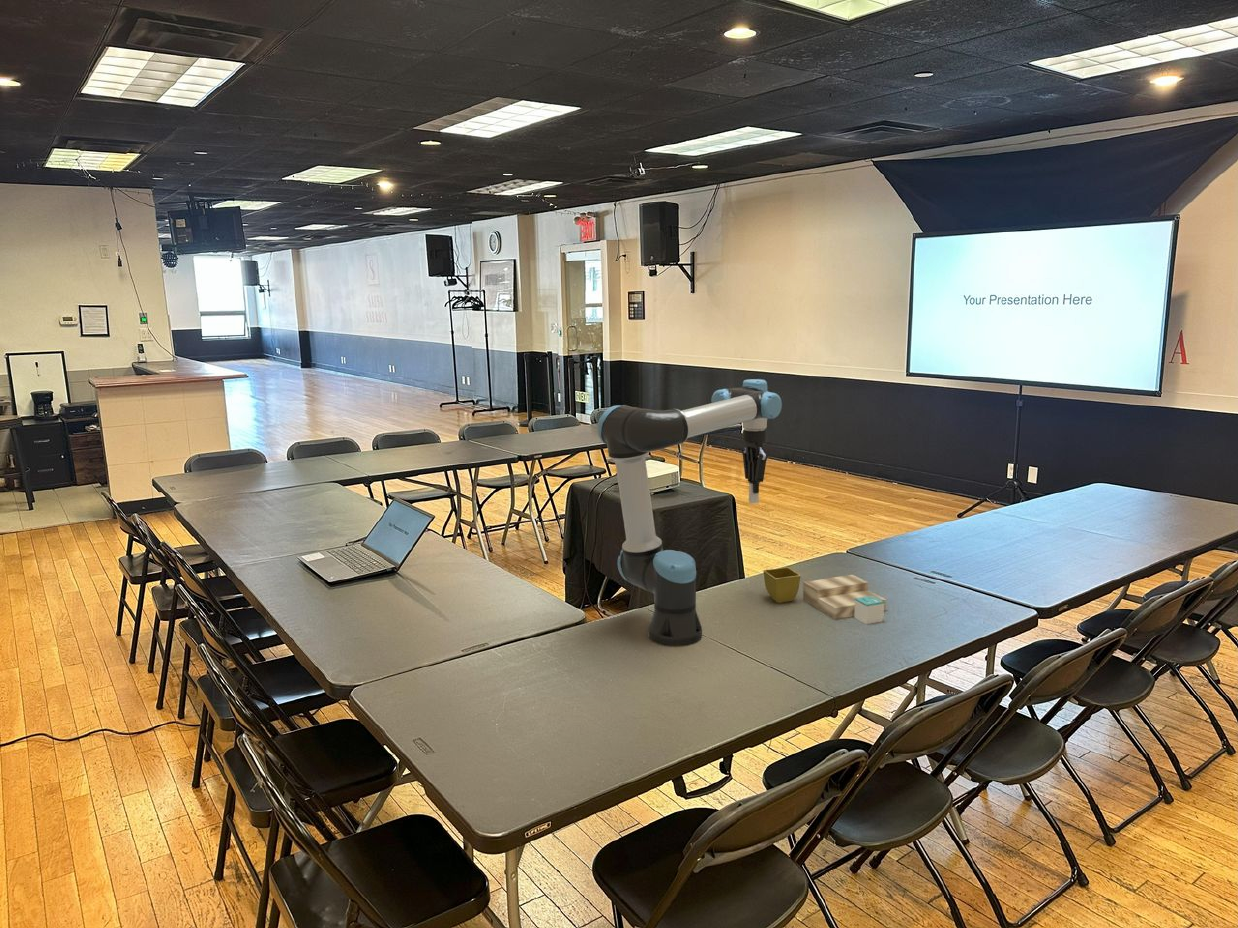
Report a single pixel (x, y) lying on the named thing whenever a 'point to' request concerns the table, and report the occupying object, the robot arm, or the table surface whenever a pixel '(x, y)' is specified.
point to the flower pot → (782, 584)
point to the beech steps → (837, 595)
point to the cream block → (869, 609)
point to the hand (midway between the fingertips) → (753, 502)
